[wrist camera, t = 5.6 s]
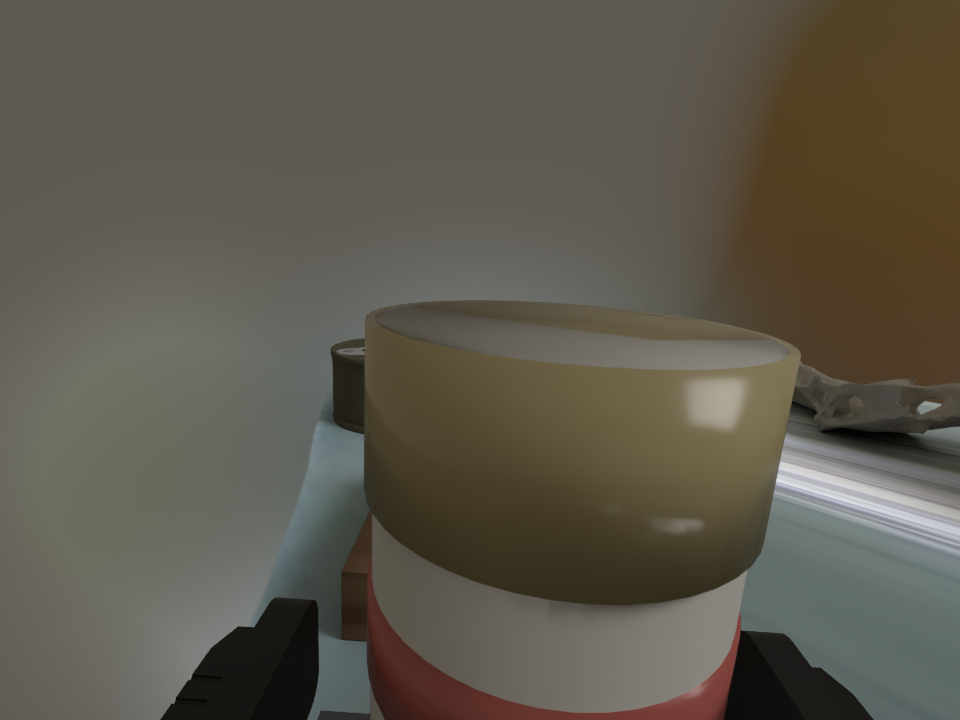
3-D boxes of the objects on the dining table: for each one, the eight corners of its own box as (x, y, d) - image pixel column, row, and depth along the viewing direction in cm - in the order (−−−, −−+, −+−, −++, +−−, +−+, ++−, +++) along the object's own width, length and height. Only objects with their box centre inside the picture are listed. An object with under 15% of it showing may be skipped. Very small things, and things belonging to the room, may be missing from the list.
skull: (907, 388, 42) (732, 333, 67) (886, 475, 44) (723, 391, 69) (1037, 388, 44) (819, 334, 68) (1012, 472, 46) (809, 390, 70)
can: (474, 429, 48) (478, 358, 47) (347, 445, 43) (347, 366, 41) (427, 394, 59) (429, 335, 57) (320, 403, 53) (319, 339, 52)
